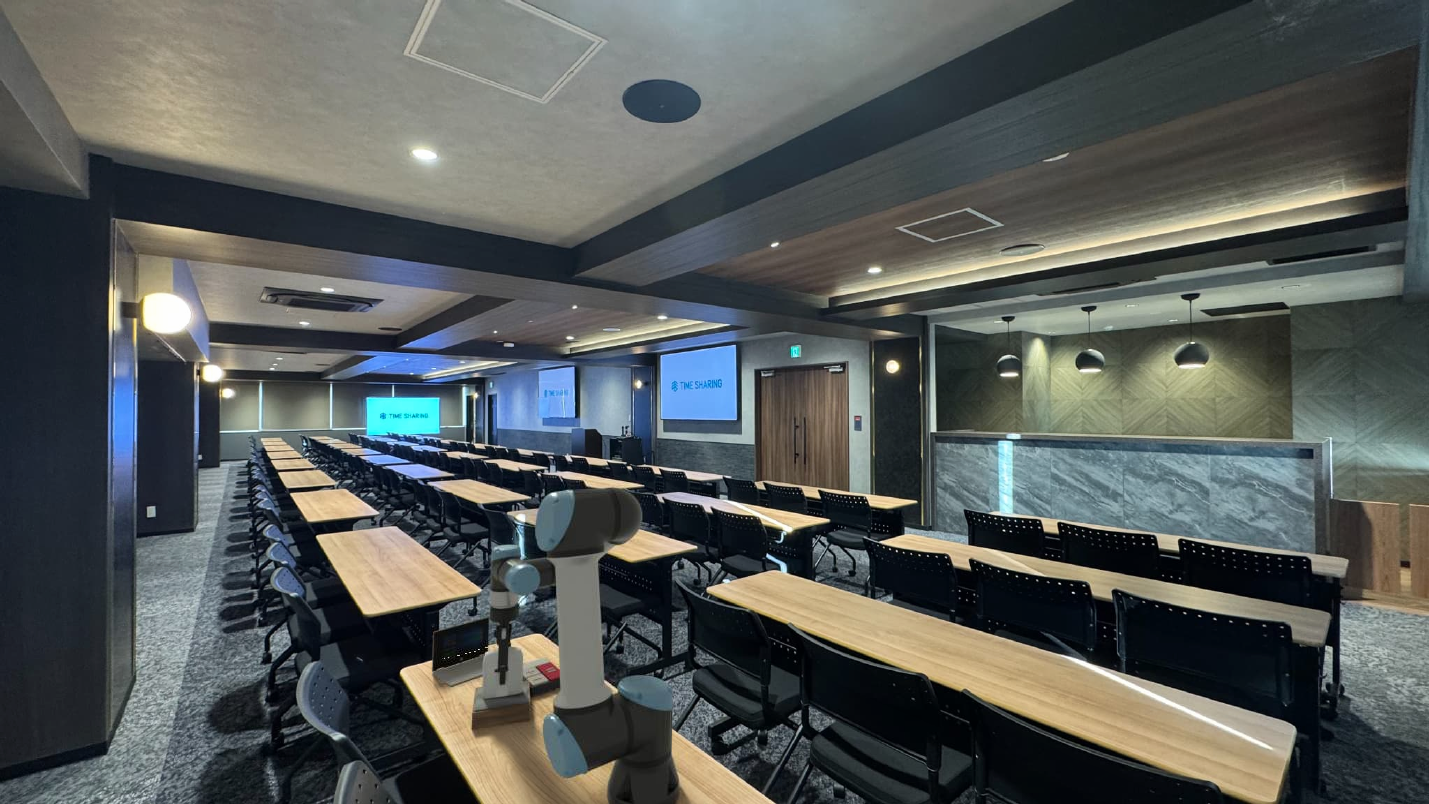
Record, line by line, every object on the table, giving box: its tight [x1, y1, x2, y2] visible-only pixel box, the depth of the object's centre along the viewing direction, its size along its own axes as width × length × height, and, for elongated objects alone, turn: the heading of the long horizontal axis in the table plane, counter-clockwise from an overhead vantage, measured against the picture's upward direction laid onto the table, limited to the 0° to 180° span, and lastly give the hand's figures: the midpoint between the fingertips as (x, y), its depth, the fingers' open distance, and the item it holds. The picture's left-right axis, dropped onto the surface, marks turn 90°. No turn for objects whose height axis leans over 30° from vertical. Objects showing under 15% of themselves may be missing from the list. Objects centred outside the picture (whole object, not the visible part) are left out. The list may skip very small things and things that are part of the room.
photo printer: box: [481, 646, 524, 699], centre depth 151 cm, size 10×4×12 cm, turn 110°
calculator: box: [523, 657, 560, 698], centre depth 167 cm, size 11×4×15 cm
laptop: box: [431, 616, 490, 687], centre depth 174 cm, size 18×12×13 cm
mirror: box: [471, 681, 531, 730], centre depth 151 cm, size 14×14×4 cm
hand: (502, 683), depth 151 cm, fingers open, 13 cm apart
